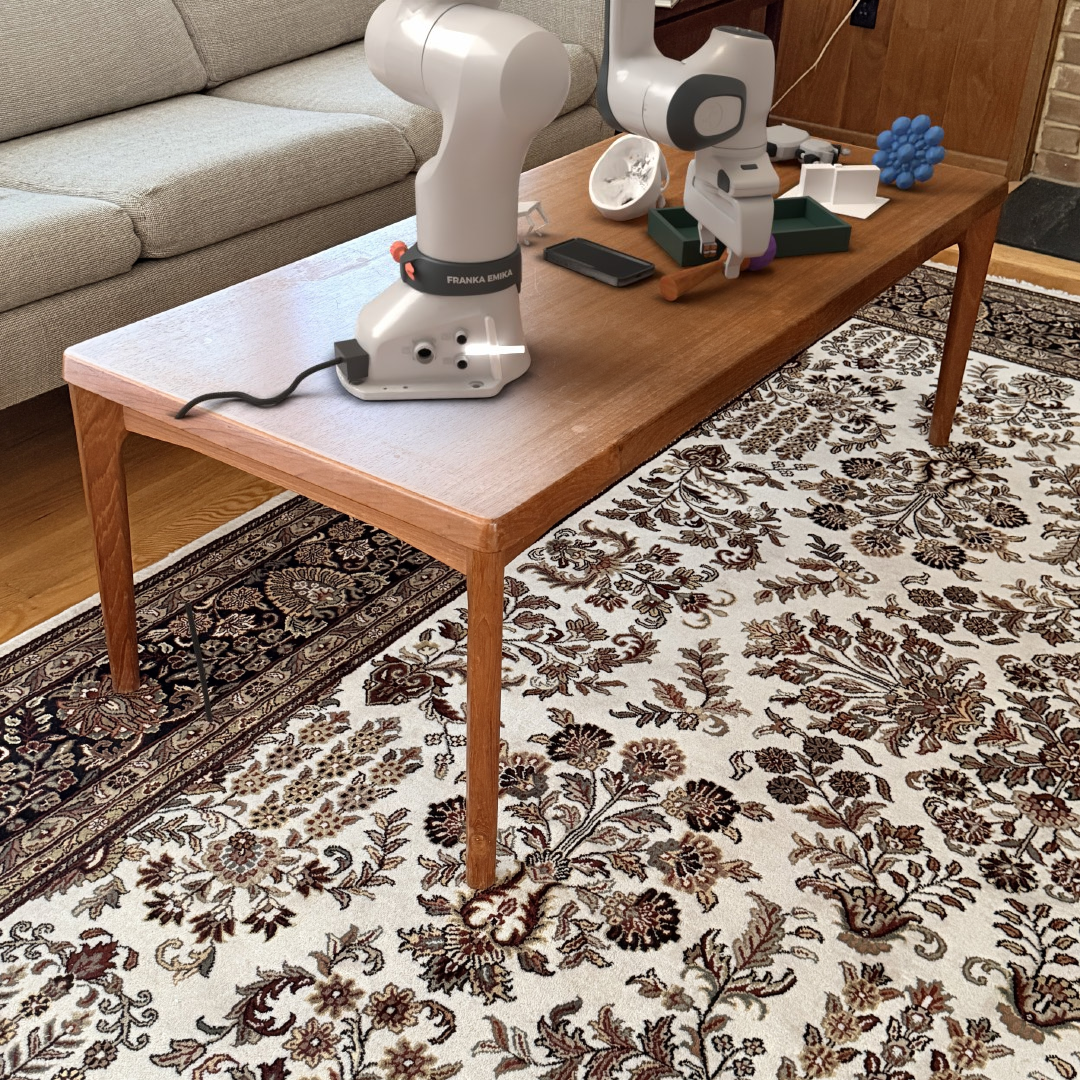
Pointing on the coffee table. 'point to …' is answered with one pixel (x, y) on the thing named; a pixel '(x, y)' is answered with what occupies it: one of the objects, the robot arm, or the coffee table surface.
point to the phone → (599, 261)
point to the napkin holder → (840, 188)
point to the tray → (793, 228)
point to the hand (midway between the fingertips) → (718, 265)
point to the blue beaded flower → (909, 151)
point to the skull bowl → (629, 178)
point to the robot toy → (800, 146)
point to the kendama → (710, 272)
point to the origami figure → (526, 209)
